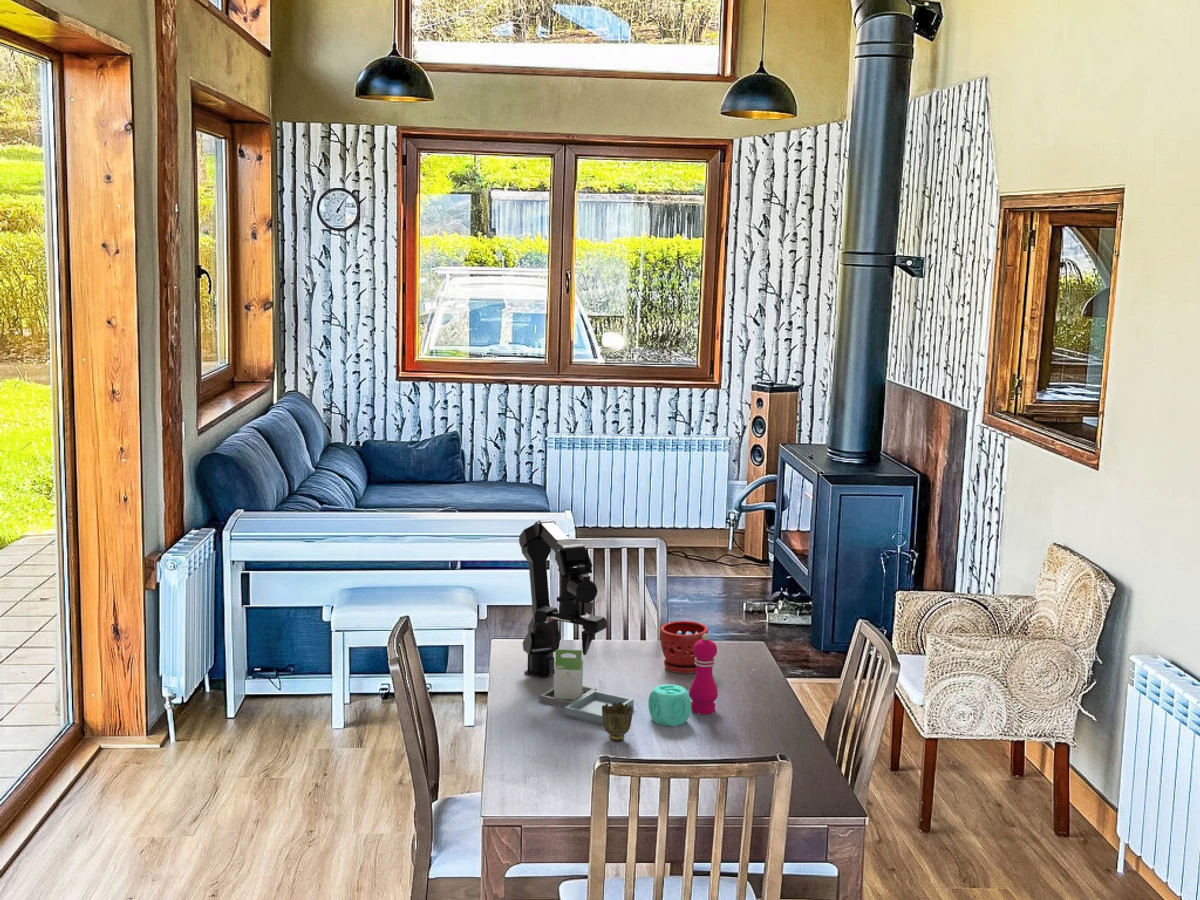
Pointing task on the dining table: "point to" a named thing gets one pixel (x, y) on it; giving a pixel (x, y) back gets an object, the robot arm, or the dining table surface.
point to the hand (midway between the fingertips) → (569, 651)
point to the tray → (593, 706)
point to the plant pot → (681, 645)
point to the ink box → (568, 675)
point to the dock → (546, 698)
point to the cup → (617, 720)
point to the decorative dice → (669, 705)
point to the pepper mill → (704, 677)
